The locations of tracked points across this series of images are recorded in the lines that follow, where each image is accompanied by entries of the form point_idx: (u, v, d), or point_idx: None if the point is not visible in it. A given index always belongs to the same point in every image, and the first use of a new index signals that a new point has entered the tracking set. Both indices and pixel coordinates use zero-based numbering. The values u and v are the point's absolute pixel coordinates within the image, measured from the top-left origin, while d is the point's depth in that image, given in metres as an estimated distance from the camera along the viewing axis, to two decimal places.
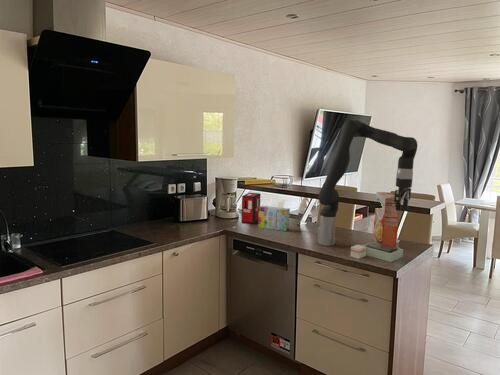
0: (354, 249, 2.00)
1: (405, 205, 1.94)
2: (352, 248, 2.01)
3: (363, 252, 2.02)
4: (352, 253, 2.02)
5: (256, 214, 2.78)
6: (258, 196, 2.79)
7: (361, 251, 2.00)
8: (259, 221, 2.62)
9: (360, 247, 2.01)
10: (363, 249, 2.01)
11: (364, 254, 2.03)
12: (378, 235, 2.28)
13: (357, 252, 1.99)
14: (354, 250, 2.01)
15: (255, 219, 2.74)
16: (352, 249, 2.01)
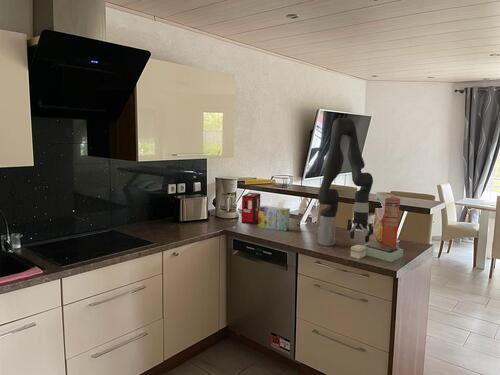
0: (354, 249, 2.00)
1: (353, 236, 2.04)
2: (352, 248, 2.01)
3: (363, 252, 2.02)
4: (352, 253, 2.02)
5: (256, 214, 2.78)
6: (258, 196, 2.79)
7: (361, 251, 2.00)
8: (259, 221, 2.62)
9: (360, 247, 2.01)
10: (363, 249, 2.01)
11: (364, 254, 2.03)
12: (378, 235, 2.28)
13: (357, 252, 1.99)
14: (354, 250, 2.01)
15: (255, 219, 2.74)
16: (352, 249, 2.01)
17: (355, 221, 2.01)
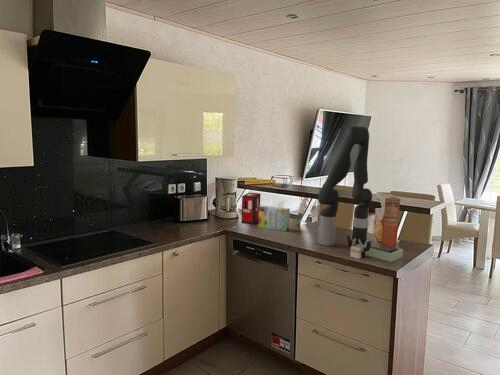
0: (354, 249, 2.00)
1: None
2: (352, 248, 2.01)
3: None
4: (352, 253, 2.02)
5: (256, 214, 2.78)
6: (258, 196, 2.79)
7: (361, 251, 2.00)
8: (259, 221, 2.62)
9: (360, 247, 2.01)
10: None
11: None
12: (378, 235, 2.28)
13: (357, 252, 1.99)
14: (354, 250, 2.01)
15: (255, 219, 2.74)
16: (352, 249, 2.01)
17: (354, 236, 2.03)
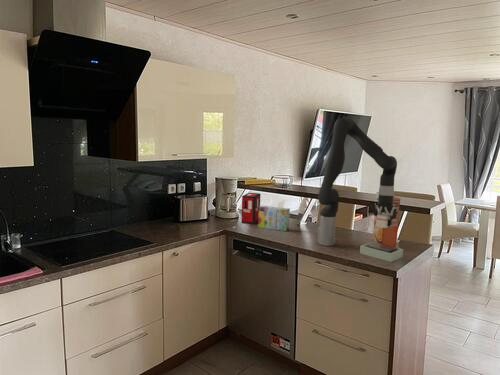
0: (380, 217, 2.00)
1: None
2: (378, 216, 2.01)
3: None
4: (378, 221, 2.01)
5: (256, 214, 2.78)
6: (258, 196, 2.79)
7: (387, 219, 2.00)
8: (259, 221, 2.62)
9: (386, 215, 2.01)
10: None
11: None
12: (378, 235, 2.28)
13: (383, 220, 1.99)
14: (380, 218, 2.00)
15: (255, 219, 2.74)
16: (378, 217, 2.01)
17: (380, 204, 2.02)
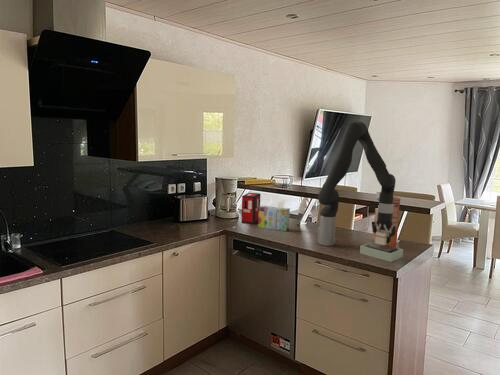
0: (379, 234, 2.02)
1: None
2: (377, 233, 2.02)
3: None
4: (377, 238, 2.03)
5: (256, 214, 2.78)
6: (258, 196, 2.79)
7: (386, 236, 2.01)
8: (259, 221, 2.62)
9: (385, 232, 2.03)
10: None
11: None
12: None
13: (382, 237, 2.00)
14: (379, 236, 2.02)
15: (255, 219, 2.74)
16: (377, 234, 2.02)
17: (379, 221, 2.04)
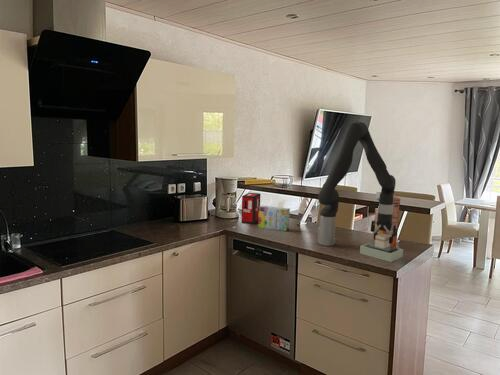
0: (379, 237, 2.02)
1: None
2: (377, 237, 2.03)
3: (387, 241, 2.03)
4: (377, 241, 2.03)
5: (256, 214, 2.78)
6: (258, 196, 2.79)
7: (386, 240, 2.02)
8: (259, 221, 2.62)
9: (385, 236, 2.03)
10: (388, 237, 2.03)
11: (388, 243, 2.04)
12: None
13: (382, 240, 2.01)
14: (378, 239, 2.02)
15: (255, 219, 2.74)
16: (377, 238, 2.03)
17: (379, 222, 2.04)
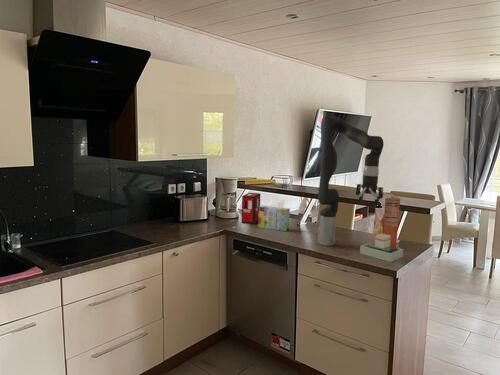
0: (379, 237, 2.02)
1: (361, 200, 2.03)
2: (377, 237, 2.03)
3: (387, 241, 2.03)
4: (377, 241, 2.03)
5: (256, 214, 2.78)
6: (258, 196, 2.79)
7: (386, 240, 2.02)
8: (259, 221, 2.62)
9: (385, 236, 2.03)
10: (388, 237, 2.03)
11: (388, 243, 2.04)
12: None
13: (382, 240, 2.01)
14: (378, 239, 2.02)
15: (255, 219, 2.74)
16: (377, 238, 2.03)
17: (364, 185, 1.99)
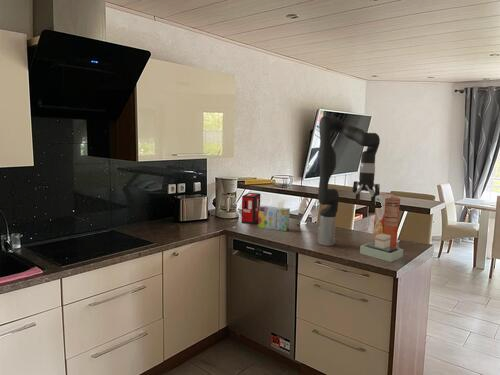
0: (379, 237, 2.02)
1: (358, 198, 2.02)
2: (377, 237, 2.03)
3: (387, 241, 2.03)
4: (377, 241, 2.03)
5: (256, 214, 2.78)
6: (258, 196, 2.79)
7: (386, 240, 2.02)
8: (259, 221, 2.62)
9: (385, 236, 2.03)
10: (388, 237, 2.03)
11: (388, 243, 2.04)
12: None
13: (382, 240, 2.01)
14: (378, 239, 2.02)
15: (255, 219, 2.74)
16: (377, 238, 2.03)
17: (361, 182, 1.99)
